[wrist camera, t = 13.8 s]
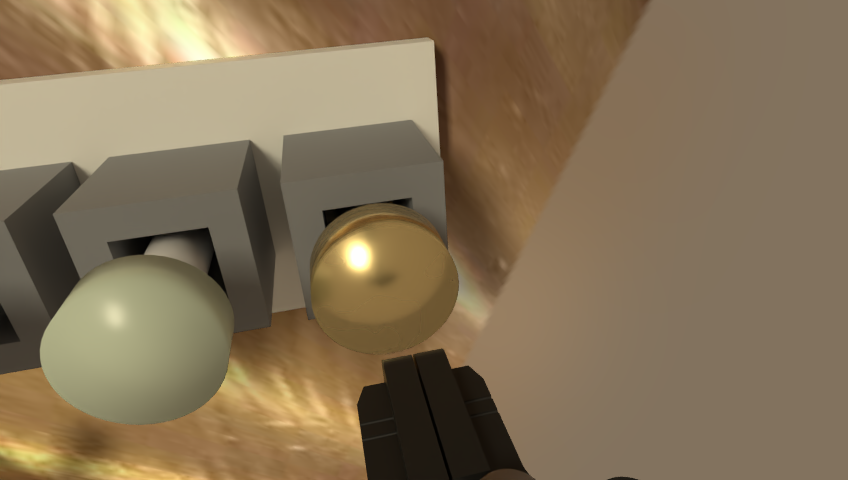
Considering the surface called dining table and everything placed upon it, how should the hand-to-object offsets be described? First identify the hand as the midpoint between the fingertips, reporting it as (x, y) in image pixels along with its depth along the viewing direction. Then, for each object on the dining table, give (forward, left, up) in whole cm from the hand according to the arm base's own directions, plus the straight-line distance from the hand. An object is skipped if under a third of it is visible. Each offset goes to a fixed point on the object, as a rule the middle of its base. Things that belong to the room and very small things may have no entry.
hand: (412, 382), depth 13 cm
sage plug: (0, -7, -11) cm, 13 cm away
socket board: (0, -7, -15) cm, 16 cm away
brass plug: (0, 0, -12) cm, 12 cm away
